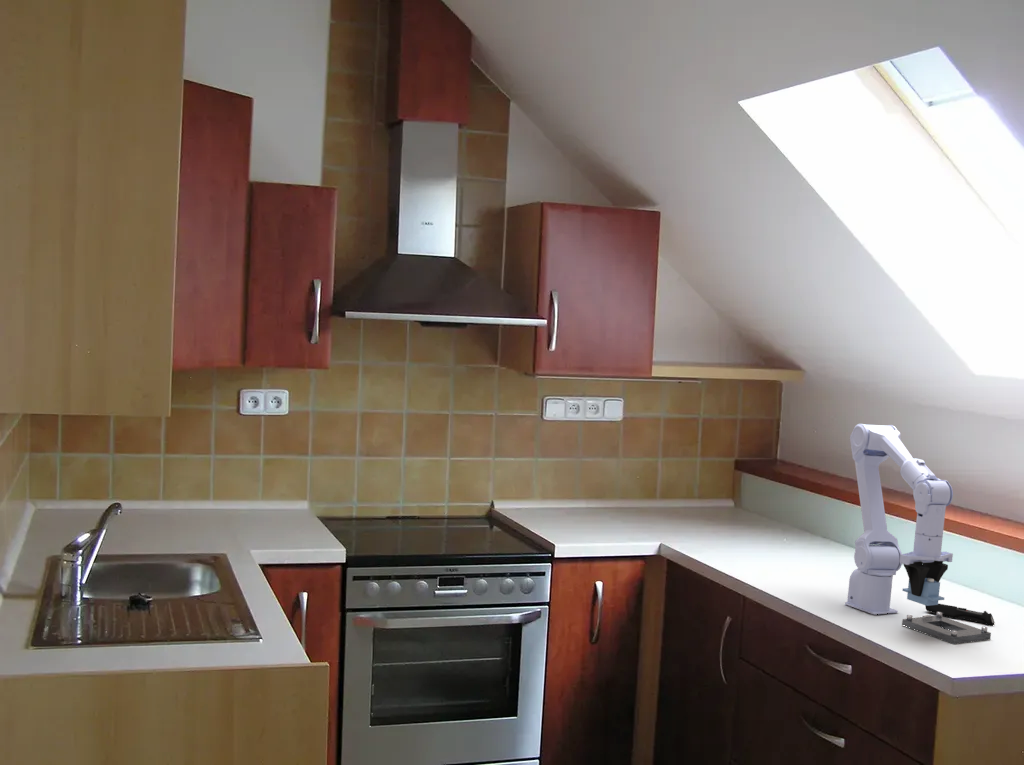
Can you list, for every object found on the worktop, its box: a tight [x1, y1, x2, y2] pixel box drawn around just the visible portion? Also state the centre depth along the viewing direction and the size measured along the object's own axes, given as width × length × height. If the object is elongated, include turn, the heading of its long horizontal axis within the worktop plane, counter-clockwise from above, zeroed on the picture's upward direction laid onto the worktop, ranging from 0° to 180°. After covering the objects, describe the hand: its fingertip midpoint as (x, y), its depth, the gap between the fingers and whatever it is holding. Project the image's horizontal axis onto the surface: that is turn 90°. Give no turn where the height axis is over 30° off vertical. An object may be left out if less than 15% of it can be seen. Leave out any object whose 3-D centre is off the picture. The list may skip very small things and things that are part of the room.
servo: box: [901, 578, 945, 606], centre depth 246 cm, size 8×4×6 cm, turn 29°
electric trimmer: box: [924, 603, 995, 627], centre depth 262 cm, size 4×16×3 cm, turn 60°
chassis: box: [901, 612, 992, 645], centre depth 248 cm, size 14×12×2 cm
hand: (922, 594), depth 246 cm, fingers closed on servo, 3 cm apart
